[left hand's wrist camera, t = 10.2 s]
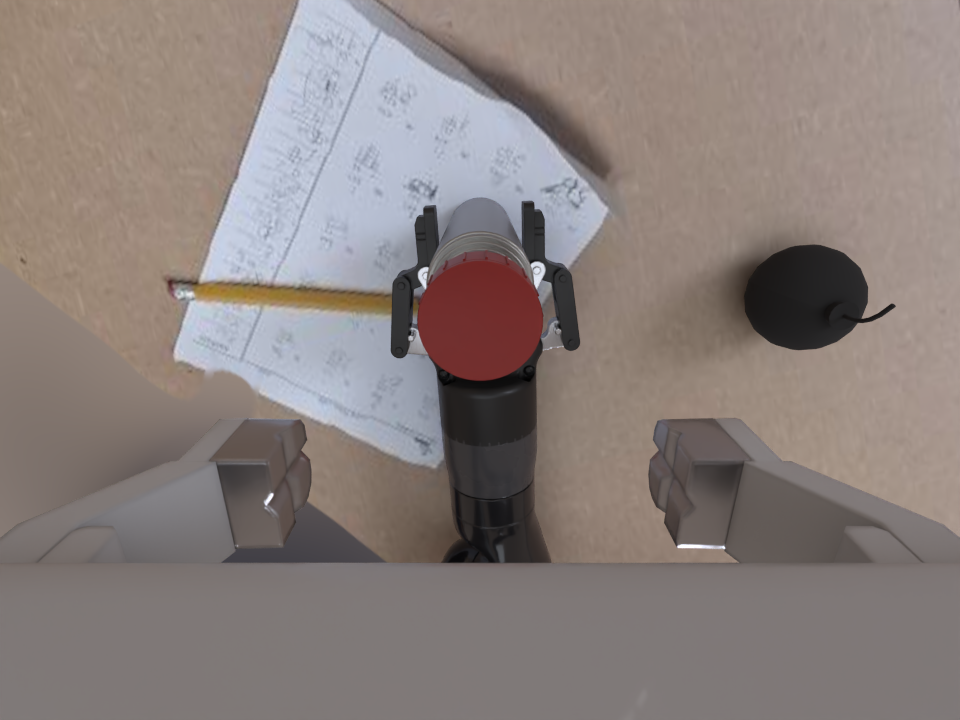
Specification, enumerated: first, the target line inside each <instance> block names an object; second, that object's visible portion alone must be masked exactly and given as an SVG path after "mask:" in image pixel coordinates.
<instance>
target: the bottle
mask: <svg viewBox="0 0 960 720" xmlns="http://www.w3.org/2000/svg"><path fill="white" fill-rule="evenodd" d="M485 250H487V251H488V252H493V253H496V254H500V255H502V256H508V258H509V259H510V260H512V261H513V262H515V263H516V264H517V265H519V266H520V267H521V268H524V269H525V272H526V274H527V275H528V277H529V279H530V280H531V282H532V284H533V285H534V275H533V271H532V268H531V265H530V262H529V260H528V258H527V256H526V254H525V252H524V249H523V247H522V245H521V243H520V241H519V239H518V237H517V234H516V232H515V230H514V228H513V226H512V224H511V221H510V219H509V217H508V215H507V213H506V212H505V210H504V209H503V208H502V207H501V206H500V205H499V204H498V203H496V202H495V201H493V200H490V199H487V198H473V199H470V200H468V201H466V202H464V203H463V204H461V205H460V206H459V207H458V208H457V209H456V211H455V212H454V214H453V216H452V218H451V220H450V222H449V224H448V227H447V229H446V231H445V233H444V235H443V237H442V240H441V242H440V244H439V246H438V248H437V250H436V252H435V255H434V257H433V259H432V261H431V263H430V266H429V269H428V273H427V279H426V287H427V283H428V281H429V278H430V276H431V274H432V275H434V273H435V272H436V271H437V270H438V269H439V268H440V267H441V266H442V265H443V264H444V262H445V261H446V260H447V261H448V260H450V259H452V258H453V257H456V256H458V255H460V254H464V252H466V253H468V252H474V251H485Z"/></svg>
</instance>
